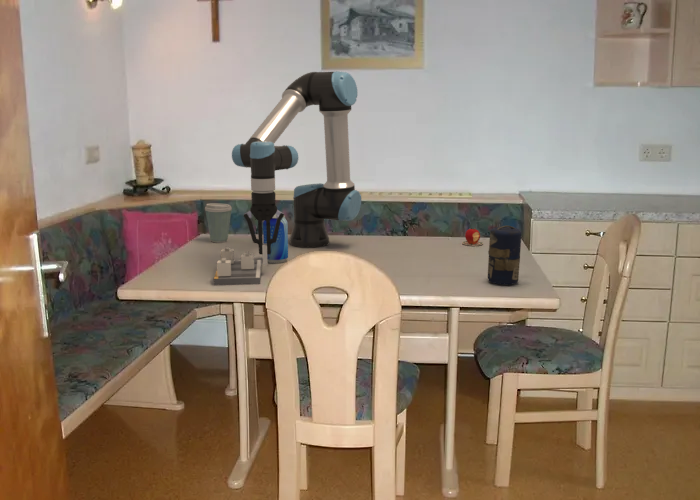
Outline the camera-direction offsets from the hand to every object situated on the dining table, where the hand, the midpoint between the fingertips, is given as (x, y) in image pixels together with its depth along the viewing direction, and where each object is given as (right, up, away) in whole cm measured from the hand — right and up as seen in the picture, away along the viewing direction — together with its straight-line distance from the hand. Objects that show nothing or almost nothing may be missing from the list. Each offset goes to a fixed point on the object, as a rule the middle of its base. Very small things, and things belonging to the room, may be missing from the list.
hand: (265, 264), depth 223 cm
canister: (+75, -6, -8) cm, 76 cm away
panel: (-8, -4, 0) cm, 9 cm away
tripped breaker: (-6, -1, 0) cm, 6 cm away
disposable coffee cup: (-24, +8, +50) cm, 56 cm away
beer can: (+2, 0, +19) cm, 19 cm away
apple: (+75, +6, +46) cm, 88 cm away
